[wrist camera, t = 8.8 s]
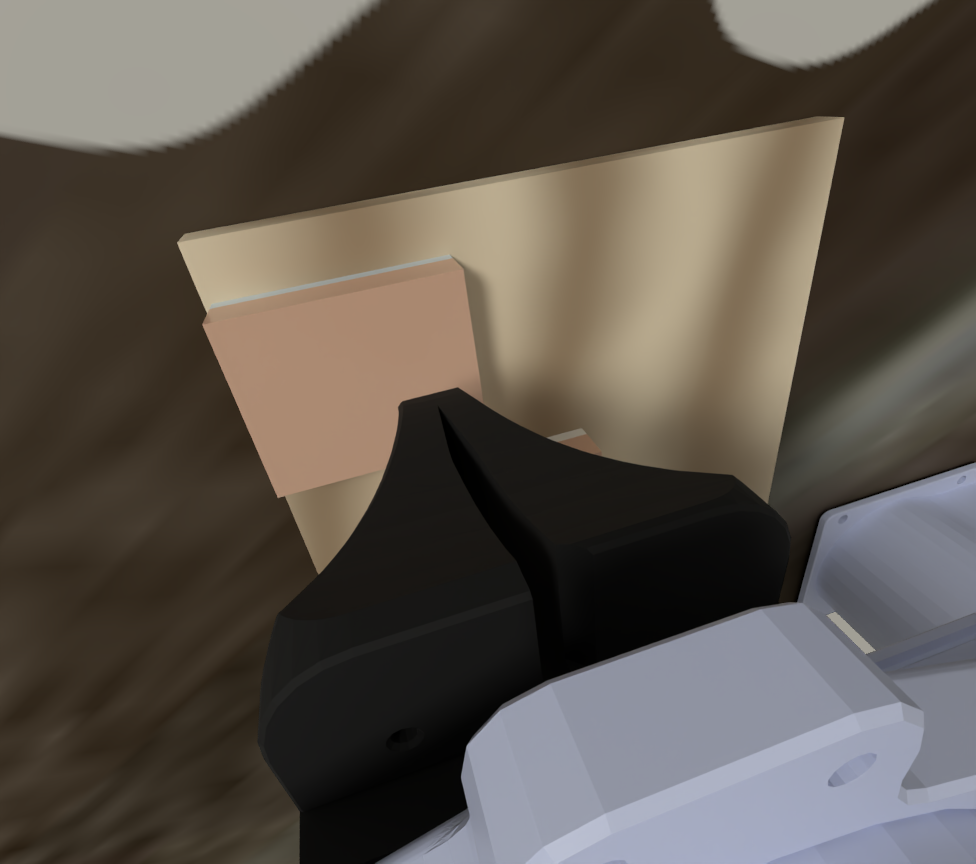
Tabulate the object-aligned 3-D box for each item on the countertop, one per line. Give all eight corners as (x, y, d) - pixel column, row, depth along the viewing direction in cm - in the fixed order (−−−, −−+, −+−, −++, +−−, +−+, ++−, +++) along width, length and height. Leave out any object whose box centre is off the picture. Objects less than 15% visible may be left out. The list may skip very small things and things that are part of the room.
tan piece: (463, 268, 13) (202, 324, 12) (489, 440, 16) (277, 497, 15) (449, 254, 14) (211, 303, 13) (476, 416, 17) (279, 467, 16)
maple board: (817, 116, 16) (844, 117, 16) (746, 517, 25) (761, 531, 24) (184, 233, 13) (176, 242, 13) (354, 642, 22) (356, 664, 21)
